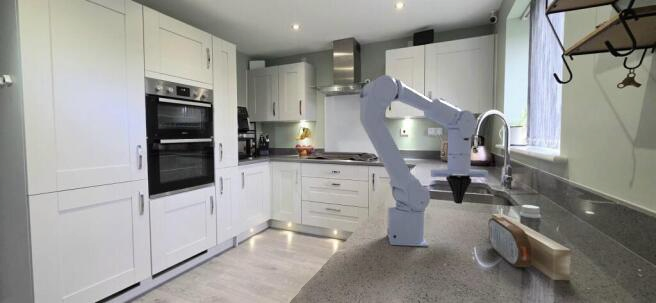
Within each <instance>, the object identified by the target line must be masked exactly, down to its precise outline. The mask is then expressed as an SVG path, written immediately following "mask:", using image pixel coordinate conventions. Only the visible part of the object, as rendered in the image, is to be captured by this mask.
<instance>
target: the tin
mask: <svg viewBox="0 0 656 303" xmlns="http://www.w3.org/2000/svg"><path fill="white" fill-rule="evenodd" d="M487 225H488V239H489V242H490V244H491V246H492V248H493V250H494V251H495V252H496V253H497V254H499V255H500V256H501V258H502V259H503V260H505V261H506V262H507V264H508V265H510V266H511V267H515V268H527V269H528V268H530V267H531V266H532V261H533V251H532V246H531V242H530V240H529V238H528V236H527V234H526V233H525V231H524V230H523V229H522V228H520V227H519V226H517V225H515V224H514V223H512V222H511V221H509V220H507V219H506V218H504V217H501V218H492V217H491V218H490V219H489V220H488V223H487Z"/></svg>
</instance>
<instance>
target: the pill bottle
mask: <svg viewBox="0 0 656 303" xmlns="http://www.w3.org/2000/svg"><path fill="white" fill-rule="evenodd" d="M519 223H521V224H523V225H525V226H527V227H529V228H530V229H532V230H534V231H536V232H538V233H540V234H541V230H542V228H541V227H542V226H541V224H542V215H541V214H540V207H539V206H536V205H533V204H531V205H530V204H523V205H522V204H521V211H520V212H519Z"/></svg>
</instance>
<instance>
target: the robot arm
mask: <svg viewBox="0 0 656 303" xmlns="http://www.w3.org/2000/svg"><path fill="white" fill-rule="evenodd" d="M358 100H359V121H360V125H362V127H363V129H364V131H365V133H366V135H367V137H368V139H369V141H370V142H371V144H372V146H373V148H374V149H375V151H376V154H377V155H378V157H379V159H380V162H382V165H383V167H384V168H385V170H386V172H387V174H388V176H389V178H390V180H389V186H390V187H391V195H392V198H393V200H395V206H391V207H387V228H386V233H387V237H388V241H389V245H391V246H412V247H429V243H428V241H427V239H425V236H424V235H425V211H426V208H427V207H428V206H429V203H430V201H431V194H430V191H429V190H428V189H427V188H426V187H425V186H424V185H422V183H421V182H420V179H418V178H417V176H415V175H414V174H413V173H412V172H411V170H410V169H409V167H408V164H407V162H406V161H405V159H404V157H403V155H402V153H401V152H400V149H399V148H398V145H397V144H396V142H395V140H394V137H393V136H392V134H391V132H390V130H389V128H388V126H387V124H386V123H385V122H386V121H385V120H384V116H385V114H386V112H387V108H388V107H389V106H390V104H392V103H393V102H400V103H402V104H404V105H407V106H410V107H413V108H414V109H417V110H420V111H422V112H423V113H424V116H425V118H427V119H429V120H431V121H433V122H435V123H437V124H438V125H441V126H442V127H443V128H444V129H445V131H446V132H447V168H445V169H444V168H439V169H438V168H437V169H430V177H432V178H445V179H446V180H447V183H448V185H449V187H450V190H451V192H452V193H451V194H452V196H453V203H455V204H460V205H461V204H463V200H464V198H465V194H466V192H467V190H468V188H469V186H470V185H471V183H472V178H484V179H487V178H489V176H488V175H489V171H488V170H485V169H471V160H472V159H471V154H472V137H473V136H474V135H473V133H474V130H475V128H476V127H477V124H478V120H476V116H475V114H474V113H472V111H470V110H467V109H466V110H461V109H460V107H459V106H457V105H452V104H450V103H448V102H446V99H445V98H443V97H440V98H437V97H436V98H434V99H431V98H428V97H426V96H425V95H423V94H421V93H419V92H418V91H417V90H414V89H413V88H410V87H409V86H407V85H406V84H404V82H402V81H401V80H400V79H397V78H394V77H392V76H391V75H388V74H387V75H386V74H383V75H381V76H378V77H377V78H376V79H374V80H373V81H370V82H367V83H366V84H365V85H363V87H362V89H361V90H360V93H359V95H358Z"/></svg>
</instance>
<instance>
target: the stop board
mask: <svg viewBox="0 0 656 303" xmlns="http://www.w3.org/2000/svg"><path fill="white" fill-rule="evenodd" d="M501 217H504V218H506V219H507V220H509V221H511V222H512V223H514V224H515V225H517V226H519V227H520V228H522V229H523V230H524V231H525V233H526V234H527V236H528V238H529V240H530V242H531V246H532V251H533V261H532V264H531V266H534V268H537V269H538V270H539V271H540V272H542V273H543V274H544V275H546V276H547V277H548V278H550V280H552V281H553V280H554V281H556V280H557V281H558V280H559V281H570V276H571V258H572V256H571V252H572V250H571V249H569V248H568V247H565V246H564V245H562V244H560V243H559V242H557V241H554V240H553V239H551V238H549V237H547V236H545V235H543V234H541V232H540V233H538V232H536V231H534V230H532V229H530V228H529V227H527V226H525V225H523V224H521V223H520V221H517V220H515V219H513V218H512V217H509V216H508V215H506V214H504V213H492V214H491V218H501Z"/></svg>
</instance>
